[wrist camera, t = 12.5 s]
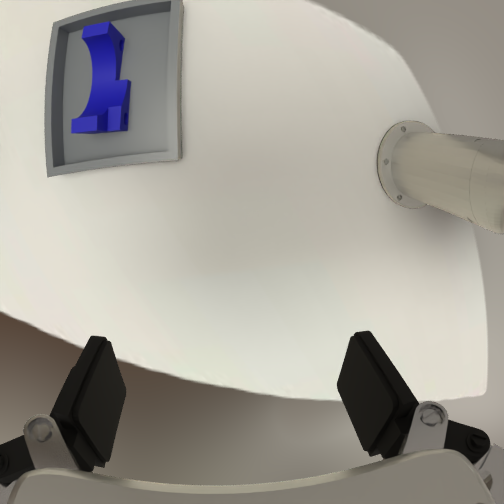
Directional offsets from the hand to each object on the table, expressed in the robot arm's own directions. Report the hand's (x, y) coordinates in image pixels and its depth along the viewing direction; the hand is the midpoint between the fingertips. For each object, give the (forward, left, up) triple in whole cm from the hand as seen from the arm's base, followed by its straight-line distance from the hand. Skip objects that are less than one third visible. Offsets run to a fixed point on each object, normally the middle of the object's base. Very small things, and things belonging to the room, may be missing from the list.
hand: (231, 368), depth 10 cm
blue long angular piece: (+12, -16, -26) cm, 33 cm away
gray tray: (+12, -16, -26) cm, 33 cm away
